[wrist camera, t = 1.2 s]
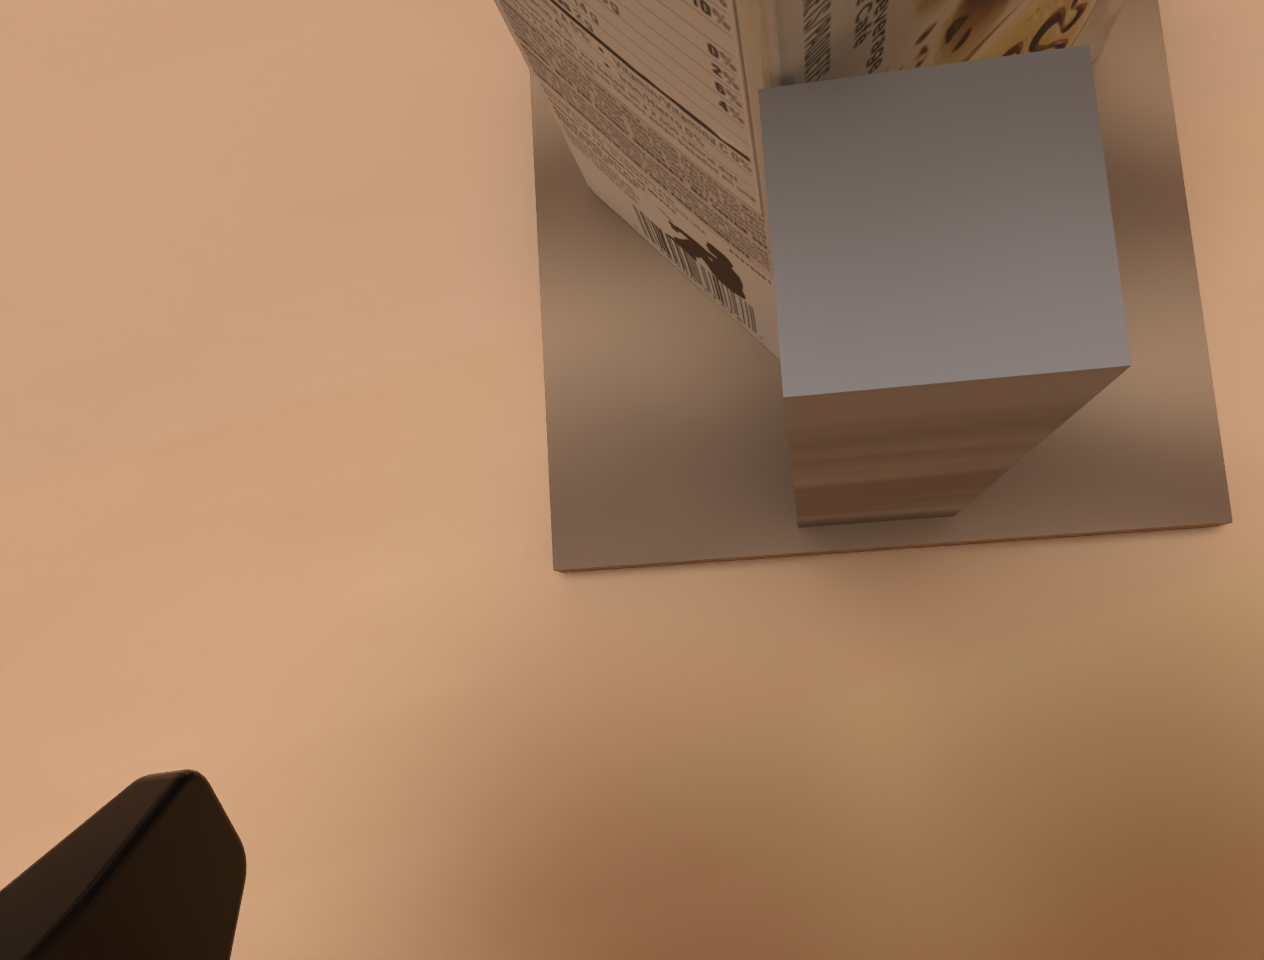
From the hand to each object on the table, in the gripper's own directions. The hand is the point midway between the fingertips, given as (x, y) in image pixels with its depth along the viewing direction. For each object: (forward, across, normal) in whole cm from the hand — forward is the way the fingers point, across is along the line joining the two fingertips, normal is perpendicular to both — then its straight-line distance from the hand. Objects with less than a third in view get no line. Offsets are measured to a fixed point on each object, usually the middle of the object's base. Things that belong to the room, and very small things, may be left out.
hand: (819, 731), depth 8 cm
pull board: (+18, -2, +2) cm, 18 cm away
